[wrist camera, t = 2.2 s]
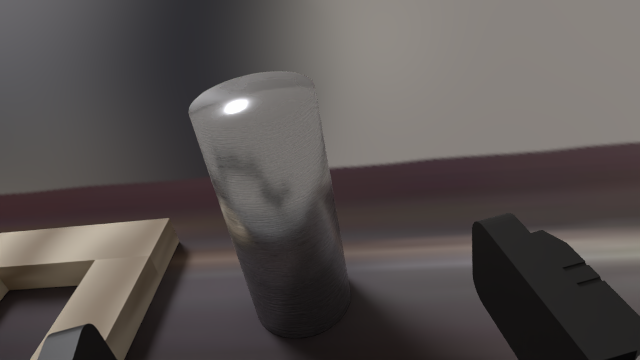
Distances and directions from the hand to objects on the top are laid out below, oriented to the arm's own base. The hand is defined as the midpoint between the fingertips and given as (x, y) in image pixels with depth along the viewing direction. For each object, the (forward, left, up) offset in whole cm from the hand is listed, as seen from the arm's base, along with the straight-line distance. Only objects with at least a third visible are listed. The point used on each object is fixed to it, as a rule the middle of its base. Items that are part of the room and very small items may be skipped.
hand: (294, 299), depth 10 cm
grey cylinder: (-7, +9, -12) cm, 17 cm away
